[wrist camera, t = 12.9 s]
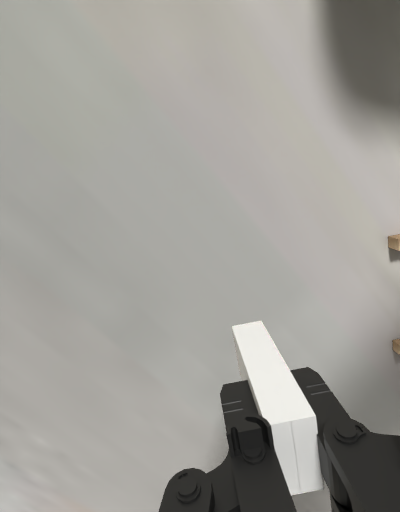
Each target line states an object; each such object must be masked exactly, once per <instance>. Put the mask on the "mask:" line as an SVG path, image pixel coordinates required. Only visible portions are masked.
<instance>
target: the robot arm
mask: <svg viewBox="0 0 400 512" xmlns="http://www.w3.org/2000/svg"><path fill="white" fill-rule="evenodd" d="M232 331H233V337H234V343H235V348H236V354H237V360H238V366H239V371H240V376H241V379H242V381H239V382H234V383H229V384H224V385H223V387H222V390H221V393H220V397H221V403H222V408H223V414H224V419H225V425H226V431H227V440H228V445H229V451H228V455H227V457H226V459H225V460H224V461H223V463H222V464H221V465H220V466H218V467H217V468H215V469H214V470H212V471H210V472H208V473H207V474H206V473H205V472H203V471H202V470H200V469H195V468H190V469H184V470H182V471H180V472H179V473H177V474H175V475H174V476H173V477H172V479H171V480H170V481H169V483H168V485H167V487H166V489H165V492H164V495H163V499H162V502H161V506H160V509H159V512H297V511H296V509H295V506H294V503H293V500H292V497H291V495H296V494H301V493H306V492H311V491H316V490H321V489H324V483H323V477H324V480H325V482H326V484H327V486H328V488H329V490H330V499H331V509H332V512H400V436H396V435H383V434H377V433H373V432H370V431H369V430H368V429H367V428H366V427H365V426H364V425H363V424H361V423H359V422H357V421H355V420H352V419H351V418H350V417H349V415H348V414H347V413H346V411H345V410H344V408H343V407H342V406H341V404H340V403H339V401H338V400H337V399H336V397H335V396H334V394H333V393H332V392H331V391H330V389H329V387H328V386H327V385H326V384H325V382H324V380H323V379H322V378H321V376H320V375H319V374H318V373H317V372H315V371H314V370H312V369H310V368H309V367H306V368H301V369H296V370H291V371H290V370H289V368H288V366H287V365H286V363H285V361H284V359H283V358H282V356H281V354H280V352H279V351H278V349H277V347H276V346H275V344H274V342H273V340H272V339H271V337H270V335H269V333H268V332H267V330H266V328H265V326H264V325H263V323H262V321H256V322H251V323H246V324H241V325H236V326H232Z"/></svg>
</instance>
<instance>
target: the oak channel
mask: <svg viewBox="0 0 400 512" xmlns="http://www.w3.org/2000/svg"><path fill="white" fill-rule="evenodd" d="M388 244H389V248H392V249H395V250H398V251H400V234H398V235H393V236H388ZM393 350H394V351H395V352H396V353H398V354H399V355H400V339H397V340H393Z"/></svg>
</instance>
